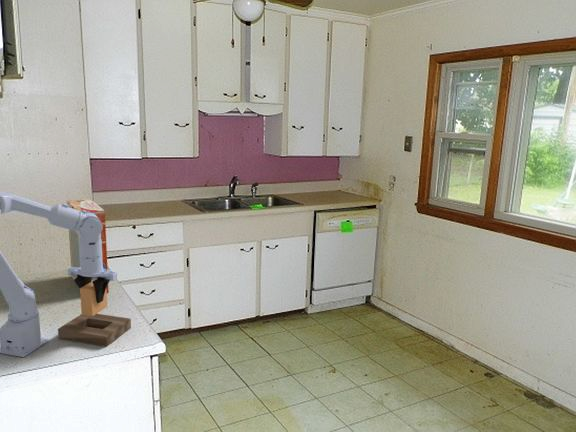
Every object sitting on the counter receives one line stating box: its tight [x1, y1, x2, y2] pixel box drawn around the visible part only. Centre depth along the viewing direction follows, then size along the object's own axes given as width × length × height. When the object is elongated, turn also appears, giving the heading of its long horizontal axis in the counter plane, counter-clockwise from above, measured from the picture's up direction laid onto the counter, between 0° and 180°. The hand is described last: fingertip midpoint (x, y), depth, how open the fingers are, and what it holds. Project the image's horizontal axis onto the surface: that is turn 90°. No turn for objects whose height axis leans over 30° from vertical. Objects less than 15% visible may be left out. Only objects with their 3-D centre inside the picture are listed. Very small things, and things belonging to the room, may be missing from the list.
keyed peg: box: [79, 281, 108, 316], centre depth 133 cm, size 4×7×8 cm, turn 168°
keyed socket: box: [57, 313, 132, 348], centre depth 135 cm, size 12×16×3 cm
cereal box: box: [66, 198, 109, 294], centre depth 168 cm, size 23×8×30 cm, turn 35°
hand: (93, 300), depth 133 cm, fingers closed on keyed peg, 3 cm apart
